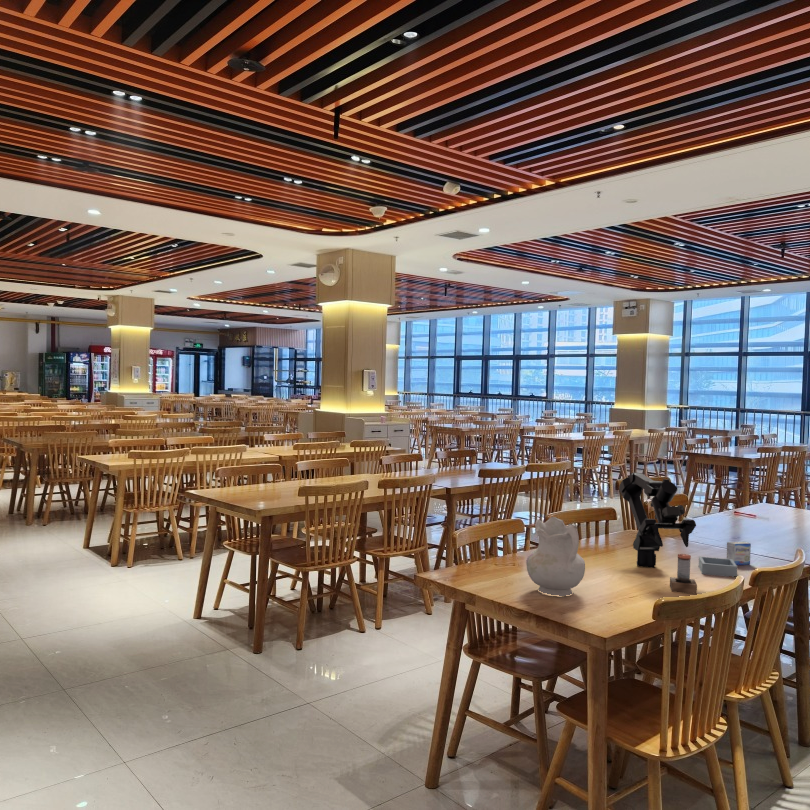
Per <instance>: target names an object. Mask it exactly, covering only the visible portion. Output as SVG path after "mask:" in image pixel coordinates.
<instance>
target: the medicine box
mask: <svg viewBox="0 0 810 810" xmlns="http://www.w3.org/2000/svg"><path fill="white" fill-rule="evenodd" d="M751 548H752V547H751V542H747V541H727V542H726V559H732V560H733V561H734V563H735V564H736V565H737V566H748V565H751V551H752V550H751Z"/></svg>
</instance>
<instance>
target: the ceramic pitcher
mask: <svg viewBox="0 0 810 810" xmlns="http://www.w3.org/2000/svg"><path fill="white" fill-rule="evenodd" d="M564 522H565V521H564V519H560V518H557V517H556V516H551V517H548V519H547V520H546V521H545V522H543V521H542V520H540V519H538V518H537V519H536V521H535V524H534V525H535V532H536V534H537V537H538V546H537V548H536V549H534V551H532V552H531V553H530V554H528V556H527V558H526V559H525V560H526V561H525V563H526V571H527V575H528V576H529V578H530V579H531V581H532V582H533V583H534V584H535V585H537V586H539V587H538V589H537V591H538V590H539V591H541V592H543V593H547V594H551V595H559V596H566V595H570V594H572V592H573V591H572V589H574V588H575V587H577V586H578V585H579V584H580V583H581V582H582V580H583V579H584V576H585V574H586V562H585V560H584V558H583V557H582V556H581V555H580V554H579V553H578V551H579V544H580V543H579V542H580V538H579V533H578V527H577V525H575V524H573V523H572V524H571V523H569V524H567V525H566V524H565V523H564Z"/></svg>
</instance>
